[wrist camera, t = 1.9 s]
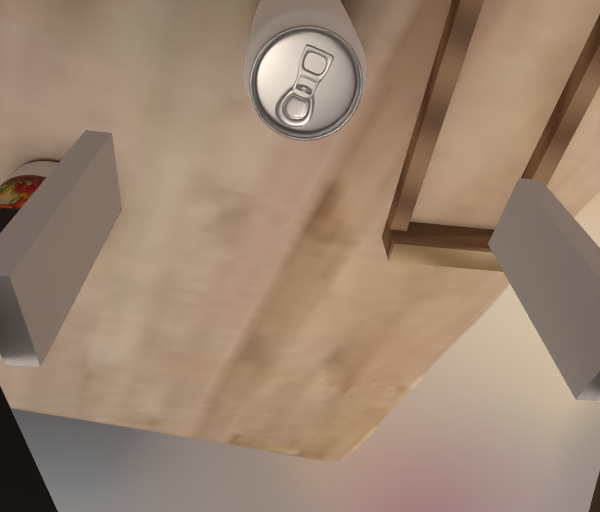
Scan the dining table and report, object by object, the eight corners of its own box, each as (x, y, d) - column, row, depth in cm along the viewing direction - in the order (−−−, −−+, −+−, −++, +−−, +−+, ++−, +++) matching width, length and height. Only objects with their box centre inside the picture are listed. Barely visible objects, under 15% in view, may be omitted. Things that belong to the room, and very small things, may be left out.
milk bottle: (120, 192, 40) (15, 389, 24) (83, 247, 44) (-29, 449, 28) (30, 139, 37) (-158, 327, 21) (-2, 204, 40) (-183, 405, 25)
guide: (473, -72, 29) (494, -67, 26) (650, -43, 30) (688, -35, 27) (382, 237, 44) (388, 261, 41) (502, 248, 45) (517, 272, 42)
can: (240, 54, 33) (223, 121, 24) (273, -44, 29) (267, -11, 20) (322, 89, 35) (336, 165, 25) (363, 0, 31) (396, 50, 22)
